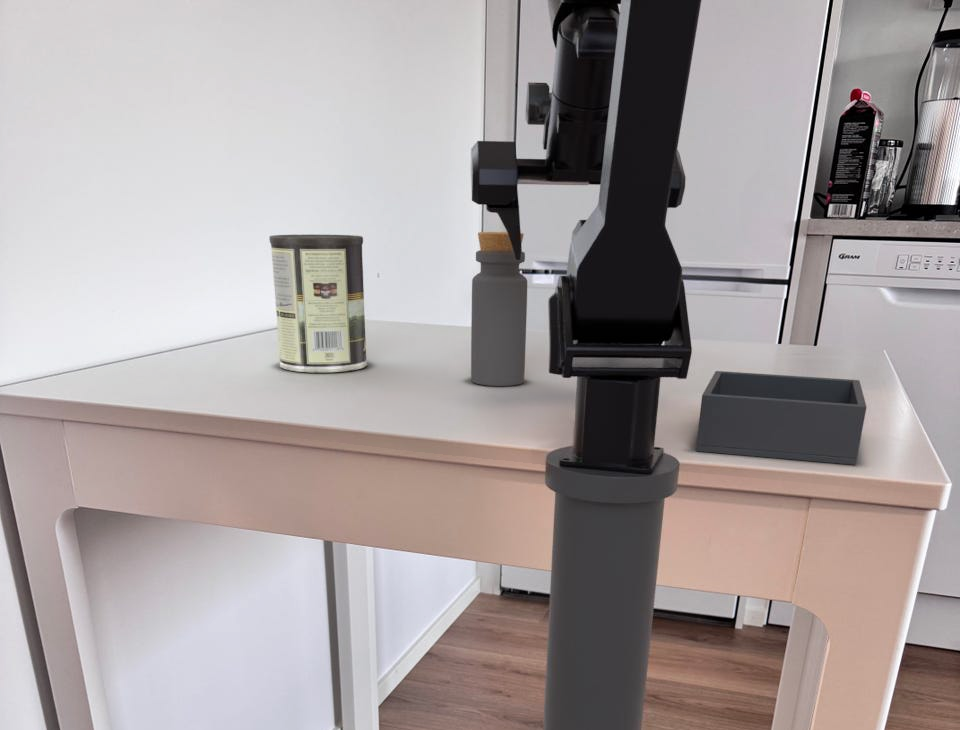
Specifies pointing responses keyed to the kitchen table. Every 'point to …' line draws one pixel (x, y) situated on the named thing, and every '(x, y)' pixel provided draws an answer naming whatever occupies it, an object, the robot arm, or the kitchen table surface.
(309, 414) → the kitchen table surface
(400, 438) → the kitchen table surface
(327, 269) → the coffee can
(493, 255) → the bottle
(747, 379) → the open rectangular box
